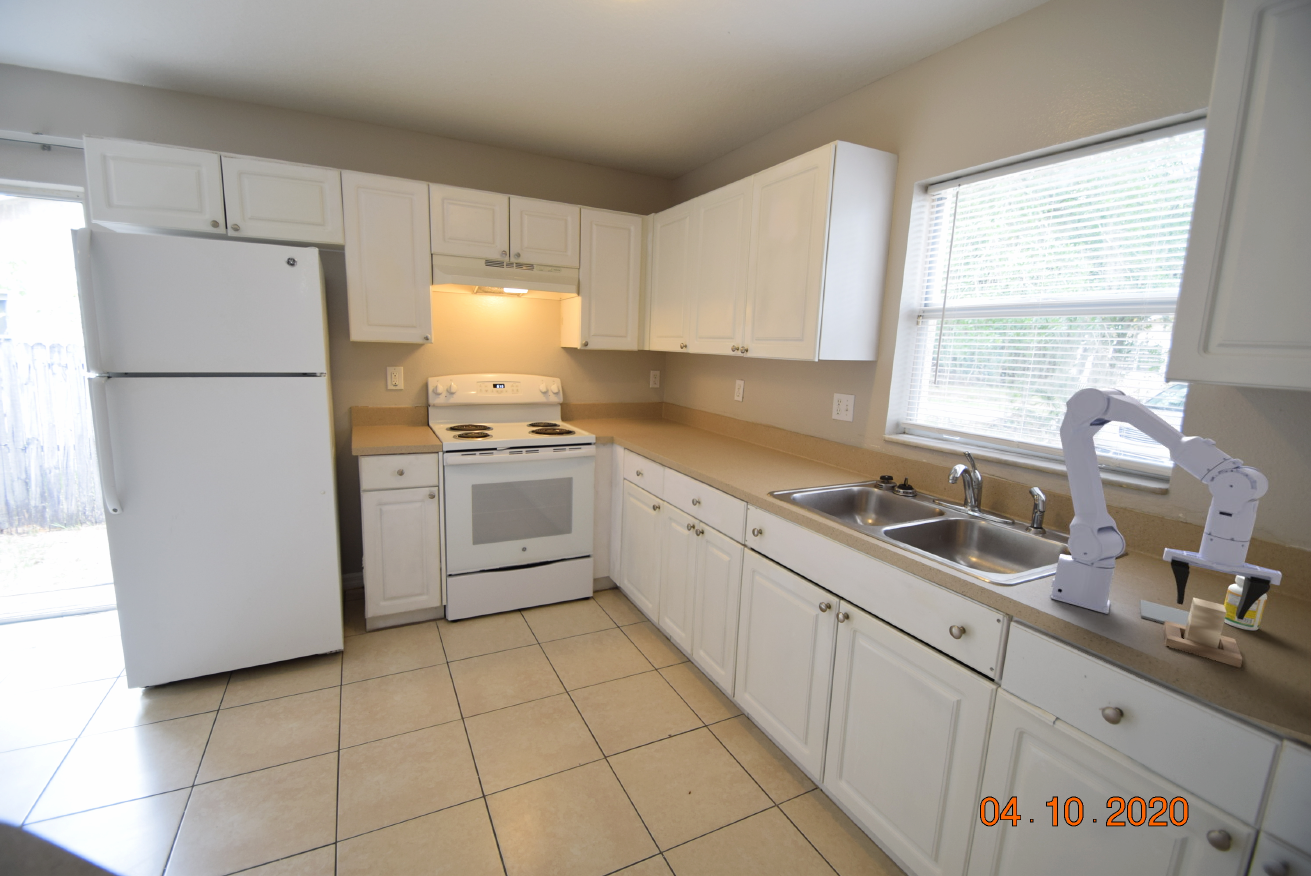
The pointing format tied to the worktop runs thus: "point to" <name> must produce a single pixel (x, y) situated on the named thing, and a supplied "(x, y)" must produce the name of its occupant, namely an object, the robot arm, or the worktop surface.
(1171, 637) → the pocket block
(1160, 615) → the slate mat
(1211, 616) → the maple part
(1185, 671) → the worktop surface
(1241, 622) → the supplement bottle
